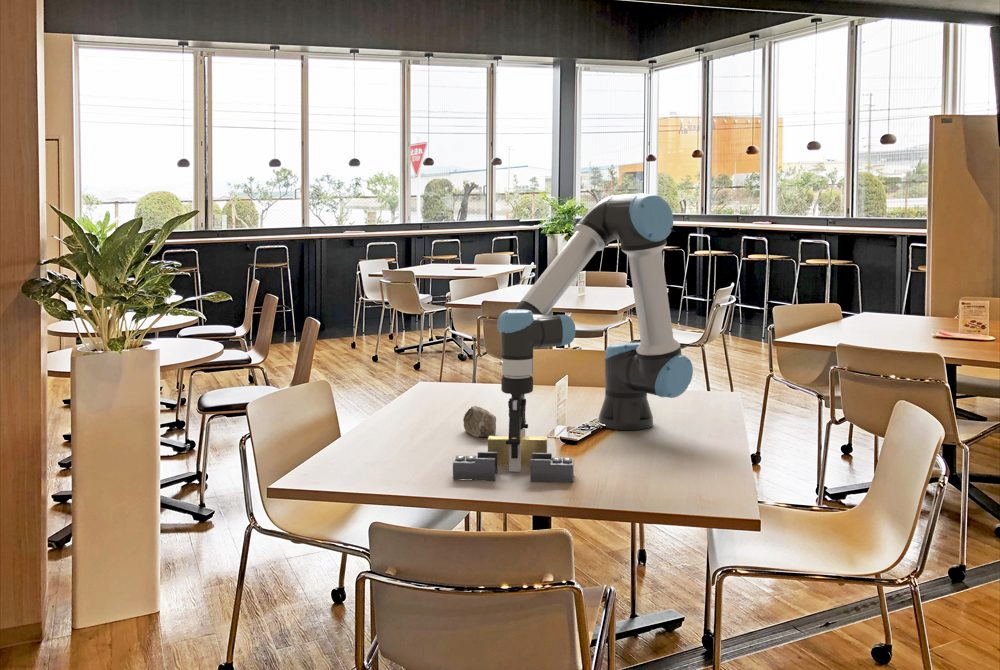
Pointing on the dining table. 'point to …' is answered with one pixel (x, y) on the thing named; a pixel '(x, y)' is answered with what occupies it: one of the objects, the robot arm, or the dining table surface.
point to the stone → (479, 422)
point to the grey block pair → (540, 467)
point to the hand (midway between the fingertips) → (517, 463)
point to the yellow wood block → (527, 448)
